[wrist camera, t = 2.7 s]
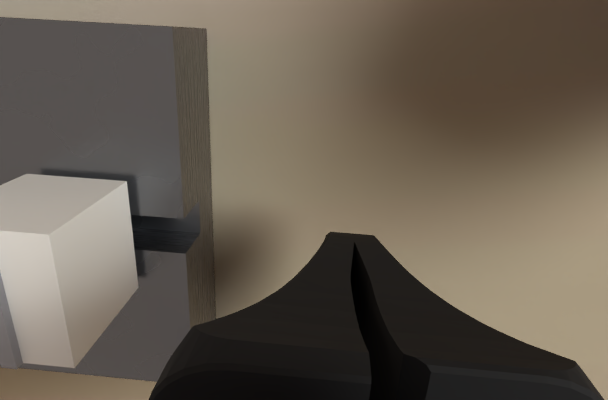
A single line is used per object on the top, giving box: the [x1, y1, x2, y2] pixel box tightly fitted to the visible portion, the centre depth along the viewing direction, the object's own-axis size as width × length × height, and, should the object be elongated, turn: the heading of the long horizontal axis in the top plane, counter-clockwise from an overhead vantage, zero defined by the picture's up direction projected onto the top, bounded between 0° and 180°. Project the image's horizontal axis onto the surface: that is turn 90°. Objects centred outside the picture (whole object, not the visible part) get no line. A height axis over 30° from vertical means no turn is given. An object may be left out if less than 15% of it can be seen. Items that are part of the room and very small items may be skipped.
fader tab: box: [0, 174, 139, 369], centre depth 12 cm, size 4×3×5 cm
